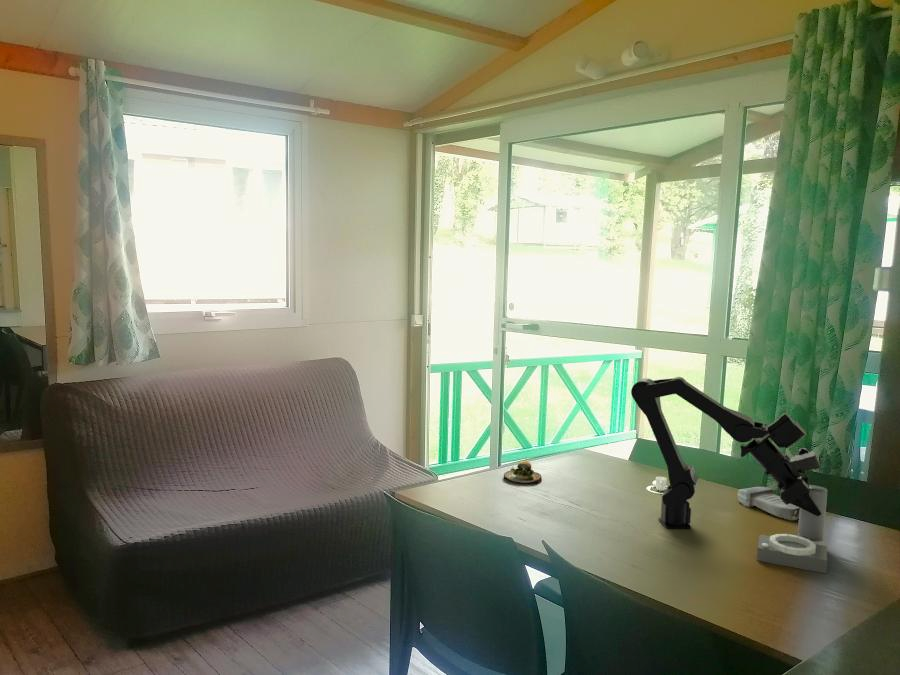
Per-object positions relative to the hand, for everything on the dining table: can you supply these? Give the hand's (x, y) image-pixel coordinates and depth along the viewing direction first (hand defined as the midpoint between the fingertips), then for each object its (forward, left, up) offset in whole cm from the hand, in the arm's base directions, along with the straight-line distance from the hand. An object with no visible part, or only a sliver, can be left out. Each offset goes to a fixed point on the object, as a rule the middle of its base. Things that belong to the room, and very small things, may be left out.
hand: (819, 511), depth 163 cm
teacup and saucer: (-20, +45, -10) cm, 50 cm away
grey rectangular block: (-10, -7, -9) cm, 15 cm away
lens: (-1, +1, -7) cm, 7 cm away
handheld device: (+3, +25, -10) cm, 27 cm away
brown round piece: (-63, +53, -10) cm, 83 cm away
